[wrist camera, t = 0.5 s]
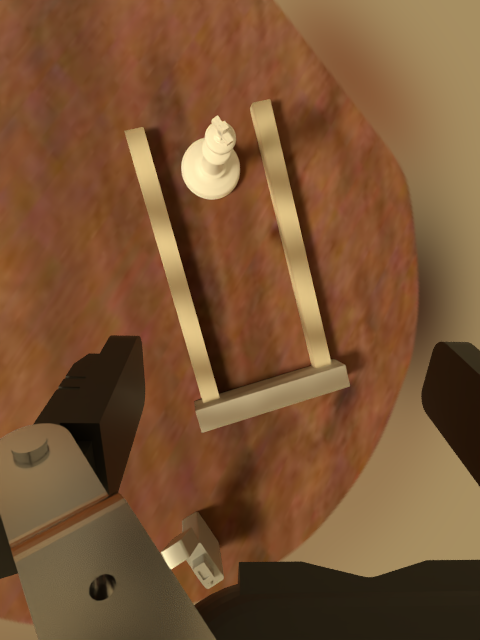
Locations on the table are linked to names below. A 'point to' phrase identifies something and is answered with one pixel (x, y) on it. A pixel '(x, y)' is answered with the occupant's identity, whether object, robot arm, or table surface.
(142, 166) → the track
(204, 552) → the lighter
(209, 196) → the chess piece
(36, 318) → the table surface
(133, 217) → the table surface
